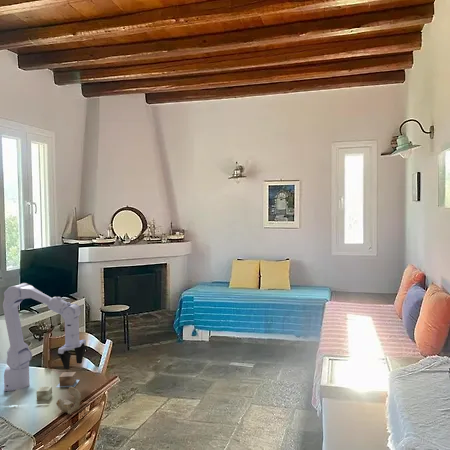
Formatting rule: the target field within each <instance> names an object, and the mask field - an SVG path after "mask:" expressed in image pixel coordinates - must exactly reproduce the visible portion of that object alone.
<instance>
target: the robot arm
mask: <svg viewBox="0 0 450 450" xmlns="http://www.w3.org/2000/svg"><path fill="white" fill-rule="evenodd" d="M3 296H4V298H3V302H2V309H3V314H4V319H5V325H6V330H7V335H8V341H9V348H8V350H7V352H6V353H7V354H6V355H7V357H6V365H7V367H6V368H5V370H4V372H3V373H4V374H3V383H4V385H3V386H4V389H3V391H4V392H7V391H9V392H11V391H12V392H13V391H17V390H19V389H20V390H21V389H25V388H28V387H30V385H31V384H30V383H31V381H30V361H31V360H32V358H33V352H32V351H31V350H30V347H29V344H28V343H26V342H25V340H24V334H23V330H22V329H23V328H22V324H21V318H20V313H19V307H18V306H19V305H20V304H21V303H22V302H23V300H25V299H32V300H35V301H37V302H39V303H41V304H44V305H47V308H48V310H50V311H52V312H54V313H56V314H58V315H60V316H61V318H62V319H63V320H64V345H62V346H61V347H59V348H58V350H57V356H58V357H59V358H60V360H61V363H62V365H63V369H64V370H69V369H70V366H71V365H70V362H71V357H72V353H71V352H69V351H71V350H74V352H75V360H76V364H80V365H81V364H82V363H83V359H84V355H85V353H86V350H87V347H88V345H87V339H80V315H81V314H82V309H81V307H80V305H78V304H77V303H71V302H70V301H68V302H67V301H66V300H65V299H62V297H61V296H53V297H51V296H49V295H47V294H45V292H44V293H43V291H41V290H39V289H37V288H36V287H34V286H33V285H32V284H29V283H27V282H22V283H20V284H16V285H12V286H11V285H10V286H8V287H7V289H6V290H4V292H3Z"/></svg>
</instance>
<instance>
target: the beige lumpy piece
mask: <svg viewBox="0 0 450 450" xmlns="http://www.w3.org/2000/svg"><path fill="white" fill-rule="evenodd" d="M67 392H68V394H69V395H71V396H73V398H74V402H73V401H72V400H69V399H63V400H62V398H59V399H58V400H57V401H56V406H57V407H58V409H59V410H60V411H61V413H67V414H68V415H71V414H73V412H76V411H78V410H80V404H81V399H82V398H81V397H82V393H81V392H80V391H79V389H78V388H76V387H68V389H67ZM73 404H74V405H73ZM72 405H73V406H72ZM71 406H72V407H71Z"/></svg>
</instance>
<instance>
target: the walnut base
mask: <svg viewBox="0 0 450 450" xmlns="http://www.w3.org/2000/svg"><path fill="white" fill-rule="evenodd" d="M58 378H59V379H58V380H59V383H60V386H73V385H74V383H75V382H76V380H77V372H76V371H67V372H66V371H64V372H63V371H62V373H61V374H60V375H59V376H58Z"/></svg>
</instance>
